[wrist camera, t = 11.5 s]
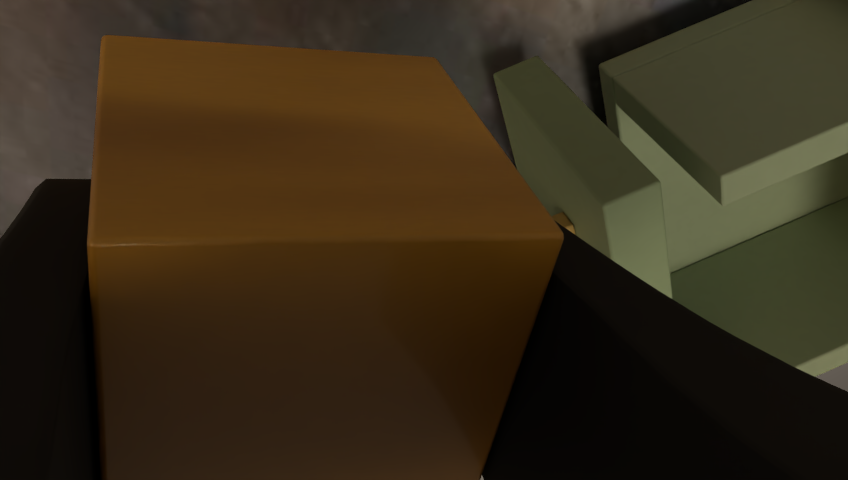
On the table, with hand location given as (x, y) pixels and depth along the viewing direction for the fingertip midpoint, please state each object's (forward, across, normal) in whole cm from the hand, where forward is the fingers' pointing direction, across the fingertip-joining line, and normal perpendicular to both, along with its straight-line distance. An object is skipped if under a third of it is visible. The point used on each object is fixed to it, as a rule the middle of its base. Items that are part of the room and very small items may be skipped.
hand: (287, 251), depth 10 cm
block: (+1, 0, 0) cm, 1 cm away
